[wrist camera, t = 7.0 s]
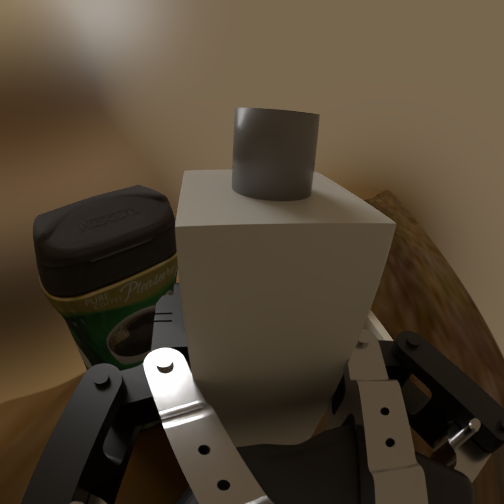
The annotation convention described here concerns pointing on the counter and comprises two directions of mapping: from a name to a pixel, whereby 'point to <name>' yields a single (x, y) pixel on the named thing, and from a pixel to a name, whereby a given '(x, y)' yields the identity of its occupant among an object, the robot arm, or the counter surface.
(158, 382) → the robot arm
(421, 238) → the counter surface
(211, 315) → the white square bottle
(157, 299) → the coffee jar
